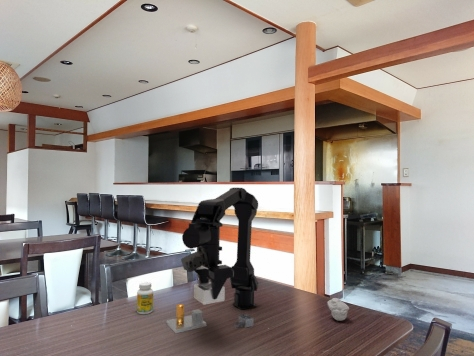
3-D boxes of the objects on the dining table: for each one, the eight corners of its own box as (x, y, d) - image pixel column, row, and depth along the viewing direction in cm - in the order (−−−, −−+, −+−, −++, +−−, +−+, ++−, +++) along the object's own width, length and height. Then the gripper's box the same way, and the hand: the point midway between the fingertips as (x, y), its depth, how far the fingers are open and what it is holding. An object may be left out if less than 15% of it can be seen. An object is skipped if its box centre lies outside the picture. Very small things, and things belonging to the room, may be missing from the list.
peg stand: (195, 317, 112) (195, 297, 112) (206, 326, 105) (206, 305, 105) (166, 323, 106) (166, 302, 106) (175, 333, 99) (176, 311, 100)
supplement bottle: (149, 307, 119) (150, 280, 120) (155, 312, 115) (155, 284, 115) (134, 310, 117) (135, 282, 117) (139, 315, 112) (140, 286, 112)
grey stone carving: (327, 315, 115) (328, 294, 115) (349, 318, 113) (349, 297, 113) (326, 321, 110) (326, 300, 110) (349, 325, 107) (349, 303, 107)
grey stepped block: (246, 321, 109) (246, 311, 109) (253, 325, 106) (253, 315, 106) (232, 324, 106) (232, 314, 106) (238, 329, 103) (238, 319, 103)
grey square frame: (213, 294, 105) (213, 281, 105) (224, 300, 99) (224, 287, 99) (193, 297, 101) (193, 284, 102) (203, 304, 96) (204, 290, 96)
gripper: (172, 240, 104) (171, 291, 104) (199, 251, 88) (198, 311, 88) (205, 237, 110) (204, 285, 110) (235, 247, 94) (234, 303, 94)
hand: (209, 295), depth 100 cm, fingers closed on grey square frame, 7 cm apart
